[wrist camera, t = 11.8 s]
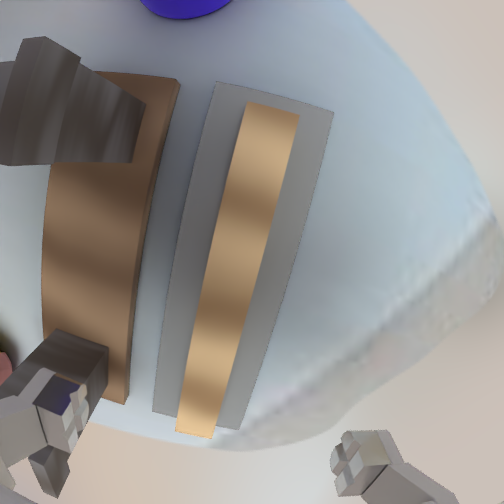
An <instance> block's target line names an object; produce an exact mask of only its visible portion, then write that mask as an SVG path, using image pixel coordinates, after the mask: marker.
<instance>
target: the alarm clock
mask: <svg viewBox="0 0 504 504" xmlns="http://www.w3.org/2000/svg"><path fill="white" fill-rule="evenodd" d="M11 374H12V365H11V362H10V360H9V357H8V356H7V355H6V353H5V352H3V353H1V352H0V386H1V384H2V383H3V382H4V381H5V380H6V379H7V378H8V377H9V376H10V375H11Z"/></svg>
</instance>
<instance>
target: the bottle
mask: <svg viewBox="0 0 504 504" xmlns="http://www.w3.org/2000/svg"><path fill="white" fill-rule="evenodd" d="M140 1H141V2H142V3H143V4H144V5H145V6H146V7H147V8H148V9H149V10H151V11H152V12H153V13H155V14H157V15H160V16H163V17H167V18H173V19H187V18H194V17H199V16H203V15H206V14H209V13H211V12H213V11H215V10H217V9H219V8H221V7H222V6H224V5H225V4H227V3H228V2H229V1H230V0H140Z"/></svg>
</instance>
